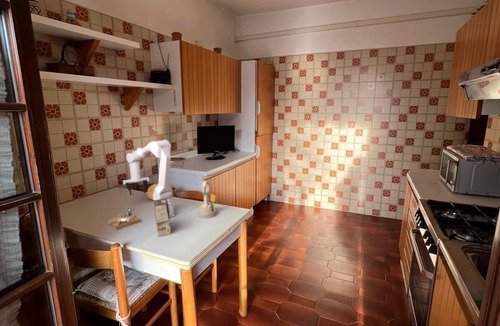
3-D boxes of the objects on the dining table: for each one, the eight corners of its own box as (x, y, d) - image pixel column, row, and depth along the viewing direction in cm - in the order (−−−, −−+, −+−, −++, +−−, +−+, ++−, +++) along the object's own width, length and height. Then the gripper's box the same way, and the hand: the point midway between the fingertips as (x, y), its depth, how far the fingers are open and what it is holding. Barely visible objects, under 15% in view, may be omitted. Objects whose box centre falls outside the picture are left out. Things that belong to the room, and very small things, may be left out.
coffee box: (171, 234, 132) (168, 203, 129) (157, 236, 130) (155, 206, 126) (169, 226, 140) (166, 198, 137) (156, 229, 138) (153, 199, 134)
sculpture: (154, 203, 175) (152, 187, 173) (145, 199, 183) (143, 184, 180) (169, 198, 184) (168, 183, 181) (160, 194, 191) (158, 180, 189)
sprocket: (137, 218, 146) (137, 210, 145) (118, 225, 139) (117, 216, 137) (129, 213, 153) (128, 205, 152) (110, 219, 146) (109, 211, 144)
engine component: (195, 218, 151) (211, 219, 149) (193, 183, 147) (210, 184, 145) (202, 210, 161) (218, 211, 159) (200, 178, 157) (216, 179, 155)
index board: (141, 221, 147) (140, 214, 146) (117, 230, 137) (116, 222, 136) (130, 215, 155) (130, 208, 154) (107, 222, 146) (106, 215, 145)
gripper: (146, 169, 168) (148, 189, 171) (121, 172, 161) (124, 193, 164) (148, 171, 162) (150, 192, 165) (122, 175, 155) (125, 197, 158)
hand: (137, 193), depth 164 cm, fingers open, 7 cm apart
